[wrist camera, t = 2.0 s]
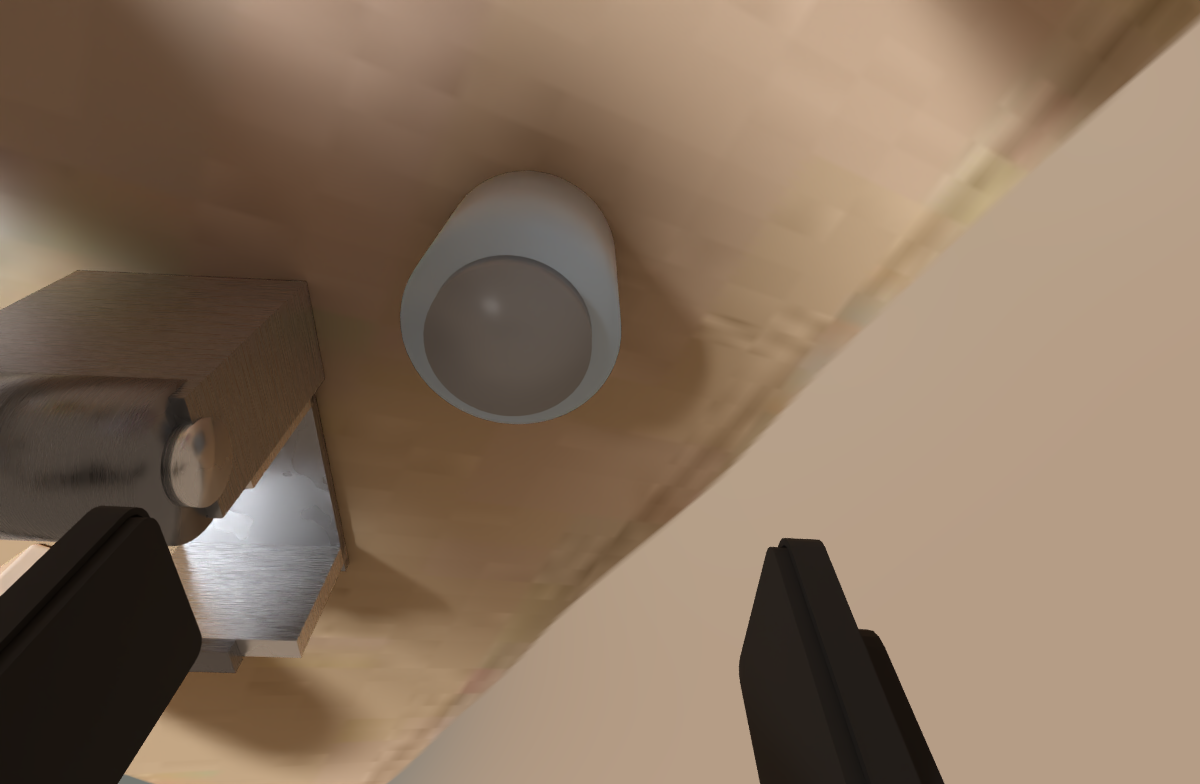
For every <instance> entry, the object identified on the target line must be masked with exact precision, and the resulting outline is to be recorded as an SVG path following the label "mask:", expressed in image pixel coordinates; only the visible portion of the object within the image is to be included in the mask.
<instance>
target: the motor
mask: <svg viewBox="0 0 1200 784" xmlns="http://www.w3.org/2000/svg"><path fill="white" fill-rule="evenodd" d="M324 379H325V377H324V371H323V366H322V361H321V356H320V350H319V345H318V340H317V334H316V329H315V324H314V319H313V313H312V308H311V303H310V298H309V292H308V287H307V282H306V281H285V280H265V279H244V278H224V277H203V276H182V275H162V274H141V273H121V272H100V271H80V270H77V271H75V272H73V273H71V274H69V275H68V276H66V277H64V278H62V279H60V280H58V281H56V282H54V283H52V284H50V285H48V286H46V287H44V288H42V289H40V290H38V291H36V292H34V293H32V294H31V295H29V296H27V297H25V298H23V299H21V300H19V301H17V302H15V303H13V304H11V305H9V306H7V307H5V308H3V309H1V310H0V540H21V541H49V542H57V541H58V540H59V539H60V538H61V537H62V536H63V535H64V534H65V533H66V532H68V531H69V530H70V529H71V528H72V527H73V526H74V525H75V524H76V523H77V522H78V521H79V520H80V519H81V518H82V517H83V516H84V515H85V514H86V513H87V512H89V511H90V510H91V509H93V508H94V507H98V506H120V507H138V508H143V509H144V510H146V511H147V513H148V514H149V516H150V518H154V519H155V520H157V522H158V523H159V525H160V528H161V530H162V533H163V536H164V538H165V541H166V543H167V546H178V545H179V546H178V548H177V549H176V550H175V552H174V553H173V554H172V555H171V556H172V559H173V562H174V564H175V567H176V569H177V572H178V575H179V577H180V580H181V583H182V585H183V588H184V590H185V593H186V596H187V598H188V601H189V603H190V606H191V609H192V611H193V614H194V616H195V619H196V622H197V624H198V627H199V629H200V632H201V636H202V645H201V650H200V653H199V655H198V657H197V659H196V661H195V663H194V664H193V666H192V667H191V669H190V671H189V672H219V673H236V671H237V669H238V667H239V665H240V664H241V662H242V660H243V659H242V656H254V657H287V658H301V657H302V655H303V653H304V651H305V648H306V646H307V644H308V642H309V640H310V637H311V635H312V633H313V631H314V629H315V626H316V624H317V622H318V620H319V617H320V615H321V613H322V611H323V609H324V606H325V604H326V602H327V600H328V598H329V595H330V593H331V591H332V589H333V586H334V584H335V582H336V580H337V578H338V575H339V573H340V571H346V569H347V567H348V564H349V560H348V555H347V550H346V545H345V540H344V535H343V530H342V525H341V520H340V515H339V510H338V505H337V500H336V495H335V490H334V485H333V481H332V476H331V471H330V466H329V461H328V456H327V451H326V446H325V441H324V436H323V431H322V426H321V421H320V416H319V411H318V406H317V401H316V396H315V391H316V390H317V389H318V387H319V386H320V384H321V383H322V382H323V380H324Z"/></svg>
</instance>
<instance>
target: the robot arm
mask: <svg viewBox="0 0 1200 784" xmlns="http://www.w3.org/2000/svg"><path fill="white" fill-rule="evenodd" d="M201 645H202V636H201V632H200V629H199V627H198V624H197V622H196V619H195V616H194V614H193V611H192V609H191V606H190V603H189V601H188V598H187V596H186V593H185V590H184V588H183V585H182V583H181V580H180V577H179V575H178V572H177V569H176V567H175V564H174V562H173V559H172V556H171V554H170V551H169V549H168V546H167V543H166V541H165V538H164V536H163V533H162V530H161V528H160V525H159V523H158V522H157V520H155V519H154V518H150V516H149V514H148V513H147V511H146V510H144V509H143V508H138V507H120V506H98V507H94V508H93V509H91V510H90V511H89V512H87V513H86V514H85V515H84V516H83V517H82V518H81V519H80V520H79V521H78V522H77V523H76V524H75V525H74V526H73V527H72V528H71V529H70V530H69V531H68V532H66V533H65V534H64V535H63V536H62V537H61V538H60V539H59V540H58V541H57V542H56V543H55V544H54V545H53V546H52V547H51V548H50V549H49V550H48V551H47V552H46V553H45V554H44V555H43V556H42V557H41V558H39V559H38V560H37V561H36V562H35V563H34V564H33V565H32V566H31V567H30V568H29V569H28V570H27V571H26V572H25V573H24V574H23V575H22V576H21V577H20V578H19V579H18V580H17V581H16V582H15V583H14V584H12V585H11V586H10V587H9V588H8V589H7V590H6V591H5V592H4V593H3V594H2V595H1V596H0V784H118V782H119V781H120V779H121V778H122V776H123V775H124V773H125V771H126V770H127V768H128V767H129V765H130V764H131V762H132V760H133V759H134V757H135V756H136V754H137V753H138V751H139V749H140V748H141V746H142V745H143V743H144V741H145V740H146V738H147V737H148V735H149V734H150V732H151V730H152V729H153V727H154V726H155V724H156V723H157V721H158V719H159V718H160V716H161V715H162V713H163V712H164V710H165V708H166V707H167V705H168V704H169V702H170V701H171V699H172V697H173V696H174V694H175V693H176V691H177V689H178V688H179V686H180V685H181V683H182V682H183V680H184V678H185V677H186V675H187V674H188V672H189V671H190V669H191V667H192V666H193V664H194V663H195V661H196V659H197V657H198V655H199V653H200V650H201ZM739 677H740V684H741V689H742V694H743V699H744V704H745V709H746V715H747V719H748V725H749V730H750V735H751V740H752V745H753V750H754V755H755V760H756V765H757V770H758V775H759V780H760V784H944V782H943V779H942V777H941V775H940V773H939V770H938V768H937V766H936V763H935V761H934V759H933V757H932V754H931V752H930V750H929V747H928V745H927V743H926V741H925V738H924V736H923V734H922V731H921V729H920V727H919V725H918V722H917V720H916V718H915V715H914V713H913V711H912V708H911V706H910V704H909V702H908V699H907V697H906V695H905V693H904V690H903V688H902V686H901V683H900V681H899V679H898V676H897V674H896V672H895V670H894V667H893V665H892V663H891V660H890V658H889V656H888V654H887V651H886V649H885V647H884V645H883V643H882V641H881V640H880V638H879V636H877V634H875V633H874V631H871V630H863V629H858V627H857V625H856V622H855V620H854V617H853V615H852V613H851V610H850V607H849V605H848V602H847V600H846V598H845V595H844V593H843V590H842V588H841V585H840V583H839V581H838V578H837V576H836V573H835V571H834V568H833V566H832V563H831V561H830V558H829V556H828V554H827V551H826V548H825V546H824V545H823V543H822V542H821V541H820V540H813V539H791V538H782V539H781V541H780V543H779V545H778V547H769V548H768V550H767V552H766V556H765V561H764V564H763V568H762V572H761V576H760V580H759V584H758V588H757V592H756V596H755V600H754V604H753V608H752V612H751V616H750V620H749V624H748V628H747V632H746V636H745V640H744V644H743V648H742V652H741V656H740V662H739Z"/></svg>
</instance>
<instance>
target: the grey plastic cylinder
mask: <svg viewBox="0 0 1200 784" xmlns="http://www.w3.org/2000/svg"><path fill="white" fill-rule="evenodd" d="M400 323H401V332H402V337H403V342H404V345H405V348H406V351H407V354H408V356H409V358H410V360H411V362H412V364H413V366H414V367H415V369H416V370H417V372H418V373H419V375H420V376H421V377H422V379H423V380H424V381H425V382H426V383H427V385H428V386H429V387H430V388H431V389H432V390H433V391H435V392H436V393H437V394H438V395H439V396H440V397H441V398H443V399H444V400H446V401H447V402H448V403H450V404H451V405H453V406H455V407H456V408H458V409H460V410H462V411H464V412H466V413H468V414H471V415H473V416H476V417H479V418H482V419H485V420H489V421H494V422H498V423H507V424H530V423H538V422H543V421H547V420H551V419H554V418H557V417H560V416H562V415H565V414H567V413H569V412H571V411H573V410H575V409H576V408H578V407H579V406H581V405H582V404H584V403H585V402H586V401H588V400H589V399H590V398H591V397H592V396H593V395H594V394H595V393H596V392H597V391H598V390H599V389H600V388H601V386H602V385H603V384H604V383H605V381H606V380H607V378H608V376H609V375H610V373H611V371H612V369H613V367H614V365H615V362H616V359H617V356H618V353H619V348H620V341H621V317H620V304H619V291H618V278H617V265H616V252H615V245H614V239H613V236H612V232H611V229H610V227H609V225H608V222H607V220H606V218H605V217H604V215H603V213H602V212H601V210H600V209H599V207H598V206H597V205H596V204H595V202H594V201H593V200H592V199H591V198H590V197H589V196H588V195H587V194H586V193H585V192H583V191H582V190H581V189H579V188H578V187H577V186H575V185H573V184H572V183H570V182H568V181H566V180H564V179H562V178H559V177H557V176H554V175H551V174H547V173H543V172H536V171H515V172H509V173H504V174H501V175H498V176H495V177H493V178H490V179H488V180H486V181H484V182H483V183H481V184H480V185H478V186H476V187H475V188H474V189H473V190H472V191H470V192H469V193H468V194H467V195H466V196H465V197H464V199H463V200H462V201H461V202H460V203H459V205H458V206H457V208H456V209H455V211H454V212H453V213H452V215H451V216H450V218H449V219H448V221H447V222H446V224H445V225H444V227H443V228H442V230H441V231H440V232H439V234H438V235H437V237H436V238H435V240H434V241H433V243H432V244H431V246H430V247H429V249H428V250H427V251H426V253H425V254H424V256H423V257H422V259H421V260H420V262H419V263H418V265H417V266H416V268H415V269H414V271H413V273H412V274H411V276H410V278H409V280H408V282H407V285H406V287H405V290H404V294H403V298H402V302H401V311H400Z"/></svg>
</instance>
